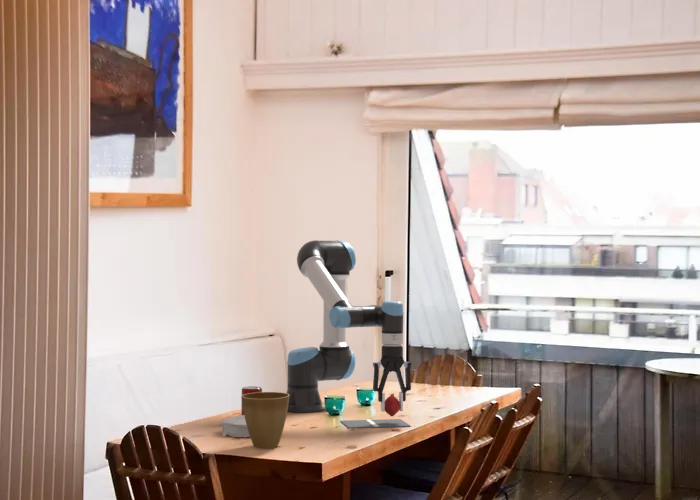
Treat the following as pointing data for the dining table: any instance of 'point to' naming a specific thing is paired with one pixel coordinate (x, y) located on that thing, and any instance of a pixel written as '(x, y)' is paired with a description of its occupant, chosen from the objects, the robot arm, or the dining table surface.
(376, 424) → the mat
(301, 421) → the dining table surface
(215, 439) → the dining table surface
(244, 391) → the soda can
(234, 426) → the food container
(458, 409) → the dining table surface
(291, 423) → the dining table surface
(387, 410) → the onion
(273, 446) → the plant pot
